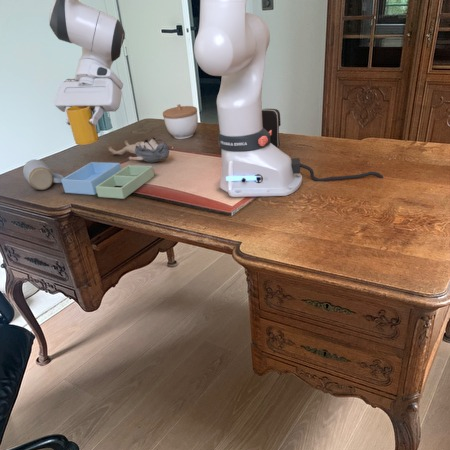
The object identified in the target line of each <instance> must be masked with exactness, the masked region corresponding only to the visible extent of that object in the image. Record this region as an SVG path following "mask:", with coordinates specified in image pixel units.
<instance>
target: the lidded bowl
mask: <svg viewBox="0 0 450 450" xmlns="http://www.w3.org/2000/svg"><path fill="white" fill-rule="evenodd" d="M162 117H163V120H164V125H165V127H166V130H167V131H168V133H169V134H170V135H171V136H172V137H173V138H174V139H177V140H181V139H189V138H191V137H193V136H194V133H195V132H196V130H197V128H198V123H199V117H198V108H197V107H196V106H193V105H181V104H180V103H179V104H176V107H170V108H167V109H165V110H164V111H163V112H162Z"/></svg>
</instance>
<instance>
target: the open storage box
mask: <svg viewBox="0 0 450 450" xmlns="http://www.w3.org/2000/svg"><path fill="white" fill-rule="evenodd" d="M120 170H122V167H121V163H120V162H105V161H104V162H103V161H90V162H88V163H87V164H85V165H84V166H81V167H80V168H78V169H77V170H75V171H73V172H72V173H70V174H68V175H66V176H64V178H63V179H61V182H62V183H61V184H62V187H63V190H64V193H66V194H78V195H79V194H80V195H93V196H96V195H98V194H97V191H96V186H97V185H99V184H100V183H102V182H103V181H105V180H107V179H108V178H110V177H111V176H113V175H114V174H116V173H117V172H119V171H120Z"/></svg>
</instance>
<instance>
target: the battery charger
mask: <svg viewBox="0 0 450 450" xmlns="http://www.w3.org/2000/svg"><path fill="white" fill-rule="evenodd" d="M281 123H282V122H281V113H280V110H278V109H276V108H262V125H263V128H264V129H265V130H267V131H268V132H269V131H270V130H272V132H271V133H272V135H271V136H270V143H271V144H273V145H274V146H275V147H277V148H278V147H279V146H280V145H281V143H280V126H281Z"/></svg>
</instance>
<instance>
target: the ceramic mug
mask: <svg viewBox="0 0 450 450" xmlns="http://www.w3.org/2000/svg"><path fill="white" fill-rule="evenodd" d="M22 173H23V177H24V178H25V180H26V181H27V183H29V185H30V186H31V187H32V188H34V189H35V190H38V191H46V190H48V189H50V188H51V186H53V184H62V182H61V179H63V178H65V176H63V175H62V174H59V173H56V172H54V171H53V172H52V170H51V169H50V167H49V166H48V165H47V164H46V163H45V162H44V161H43V160H41V159H40V160H39V159H36V158H35V159H30V160H28V161H27V162H26V163H25V164H24V166H23V169H22Z"/></svg>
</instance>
